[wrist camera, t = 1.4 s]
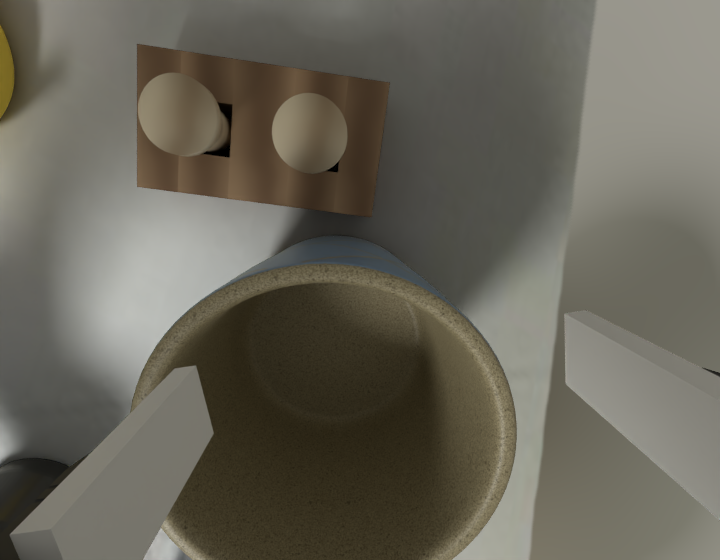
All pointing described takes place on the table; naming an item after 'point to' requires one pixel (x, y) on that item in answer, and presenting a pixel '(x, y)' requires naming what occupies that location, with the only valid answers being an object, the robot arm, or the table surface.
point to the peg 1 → (182, 116)
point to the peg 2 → (309, 133)
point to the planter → (337, 413)
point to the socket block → (266, 135)
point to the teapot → (5, 73)
